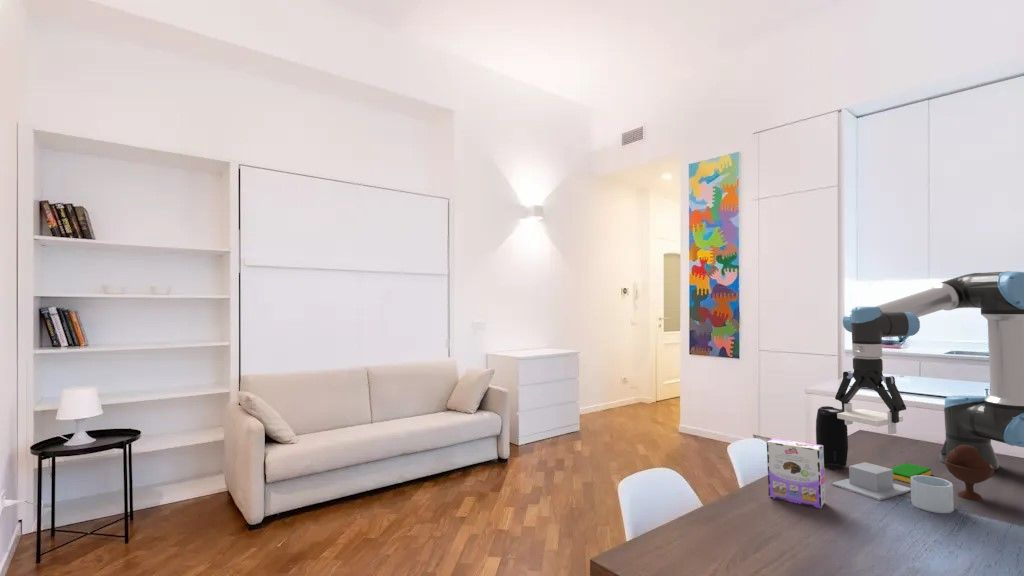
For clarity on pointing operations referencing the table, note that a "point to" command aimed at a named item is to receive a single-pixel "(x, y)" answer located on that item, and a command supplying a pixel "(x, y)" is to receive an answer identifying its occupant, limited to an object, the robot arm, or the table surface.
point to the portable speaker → (832, 437)
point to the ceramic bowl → (932, 494)
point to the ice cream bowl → (968, 469)
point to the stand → (872, 481)
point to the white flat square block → (866, 417)
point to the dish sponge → (909, 471)
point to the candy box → (796, 472)
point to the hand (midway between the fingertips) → (869, 428)
